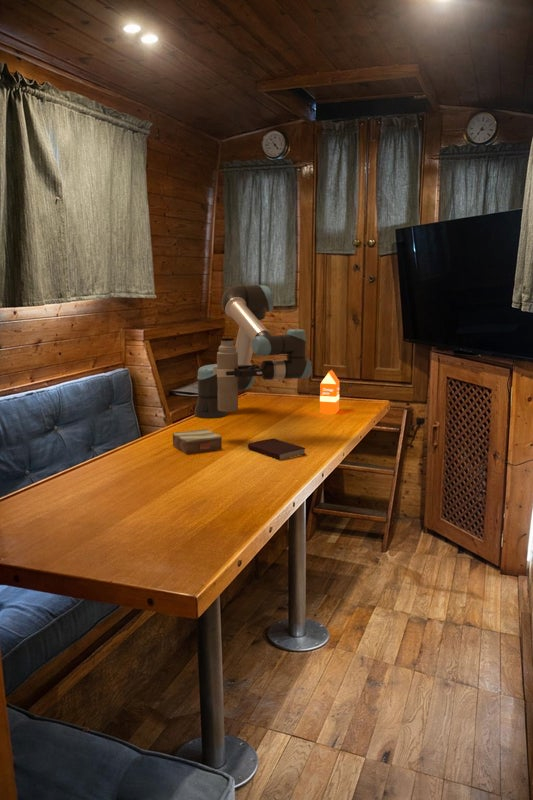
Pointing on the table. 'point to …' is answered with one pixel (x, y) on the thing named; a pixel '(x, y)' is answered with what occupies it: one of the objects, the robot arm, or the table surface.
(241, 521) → the table surface
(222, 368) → the thermos bottle
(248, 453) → the table surface
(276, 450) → the book
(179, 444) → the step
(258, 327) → the robot arm
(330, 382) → the orange juice
